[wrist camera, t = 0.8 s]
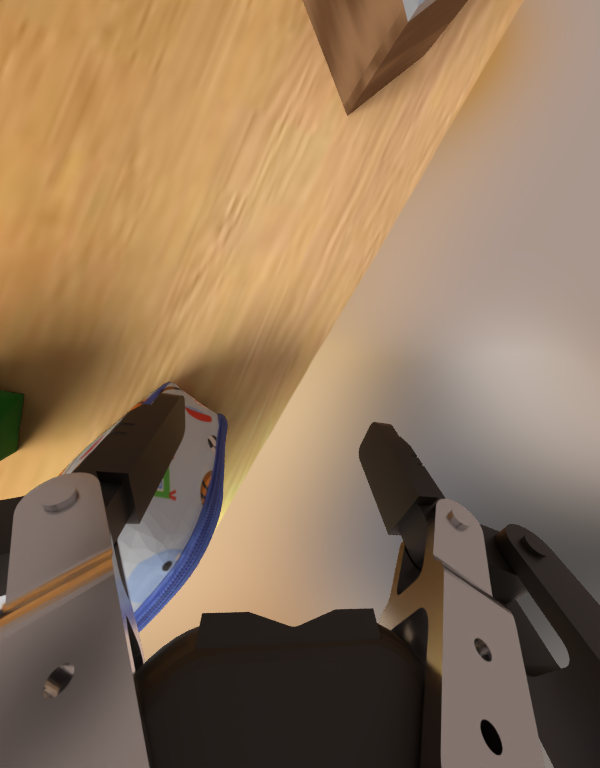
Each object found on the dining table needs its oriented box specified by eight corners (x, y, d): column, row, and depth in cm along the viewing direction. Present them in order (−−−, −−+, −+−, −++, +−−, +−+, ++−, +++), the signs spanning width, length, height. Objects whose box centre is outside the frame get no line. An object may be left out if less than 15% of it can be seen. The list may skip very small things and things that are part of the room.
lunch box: (104, 546, 32) (-90, 934, 12) (16, 520, 28) (-511, 1068, 8) (236, 408, 31) (255, 586, 12) (168, 358, 27) (9, 512, 7)
